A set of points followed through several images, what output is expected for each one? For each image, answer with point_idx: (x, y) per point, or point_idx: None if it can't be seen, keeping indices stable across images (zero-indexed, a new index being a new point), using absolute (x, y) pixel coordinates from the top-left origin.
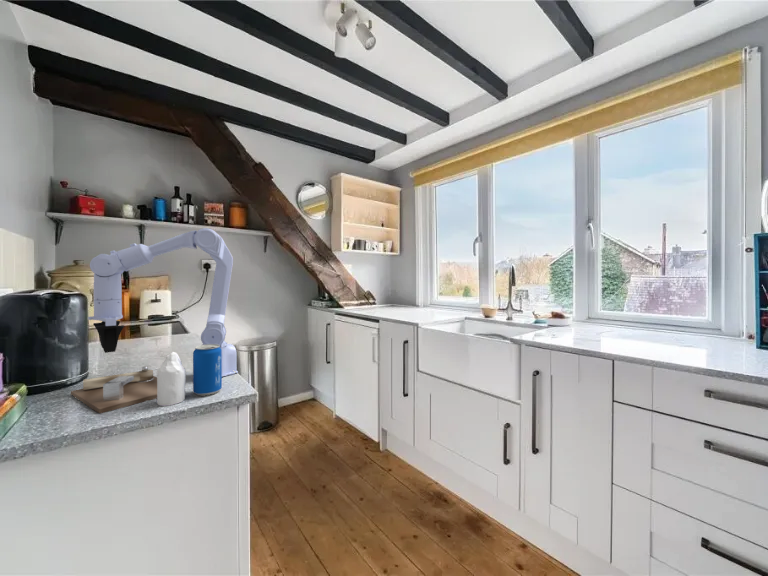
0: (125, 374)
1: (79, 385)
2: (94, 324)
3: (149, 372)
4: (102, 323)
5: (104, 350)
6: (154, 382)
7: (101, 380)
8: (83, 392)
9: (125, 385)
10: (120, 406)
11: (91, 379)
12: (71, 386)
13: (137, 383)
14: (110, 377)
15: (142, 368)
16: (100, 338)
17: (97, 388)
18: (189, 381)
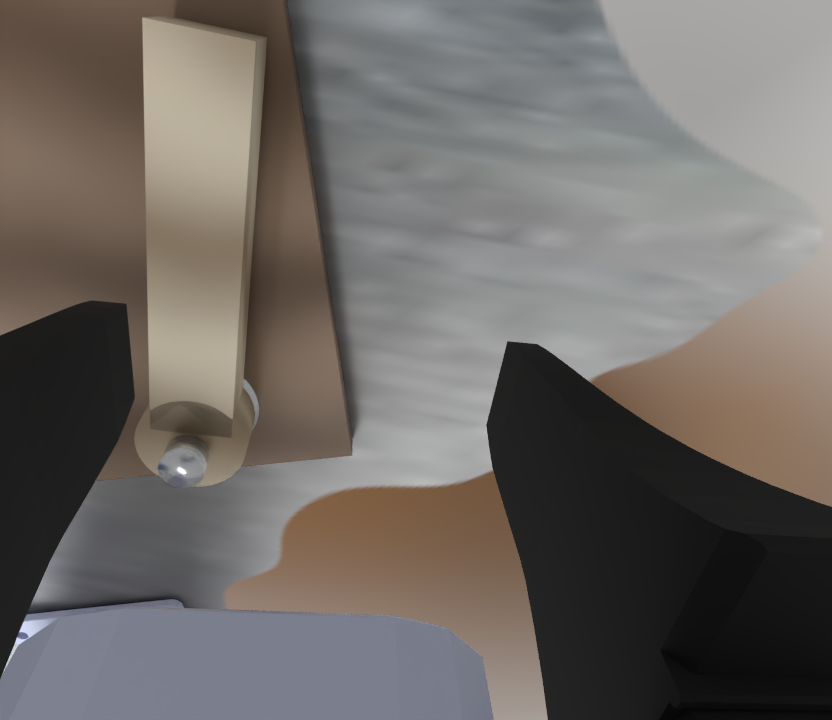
0: (195, 334)
1: (562, 59)
2: (733, 550)
3: (141, 458)
4: (666, 679)
5: (63, 310)
6: None
7: (146, 161)
8: (137, 10)
9: (141, 287)
10: None
11: (203, 97)
12: (587, 2)
13: (143, 353)
14: (166, 232)
15: (169, 450)
16: (556, 404)
17: None
18: (77, 555)
